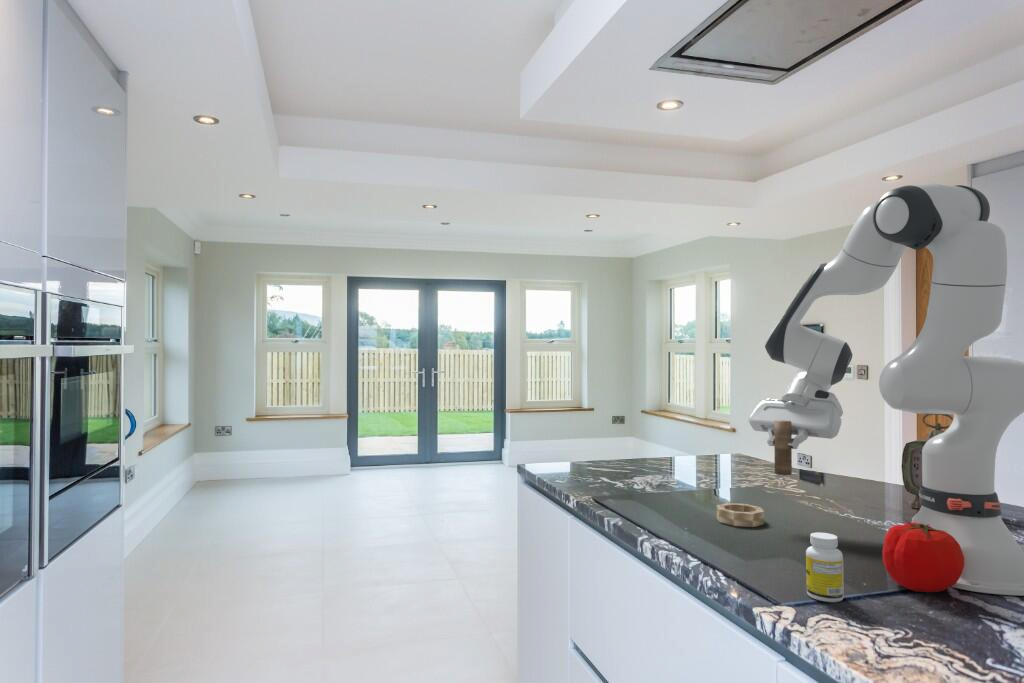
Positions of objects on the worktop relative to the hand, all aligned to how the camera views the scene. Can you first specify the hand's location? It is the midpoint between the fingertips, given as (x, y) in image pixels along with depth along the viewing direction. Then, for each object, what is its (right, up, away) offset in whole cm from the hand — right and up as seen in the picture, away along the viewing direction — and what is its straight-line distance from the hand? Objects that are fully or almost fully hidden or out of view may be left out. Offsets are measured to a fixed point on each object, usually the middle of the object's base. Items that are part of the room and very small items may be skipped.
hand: (781, 445), depth 144 cm
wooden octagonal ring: (-8, -19, +5) cm, 21 cm away
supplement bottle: (-11, -18, -42) cm, 47 cm away
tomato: (+7, -18, -39) cm, 43 cm away
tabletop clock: (+48, -19, +17) cm, 54 cm away
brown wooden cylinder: (+1, -6, 0) cm, 6 cm away
